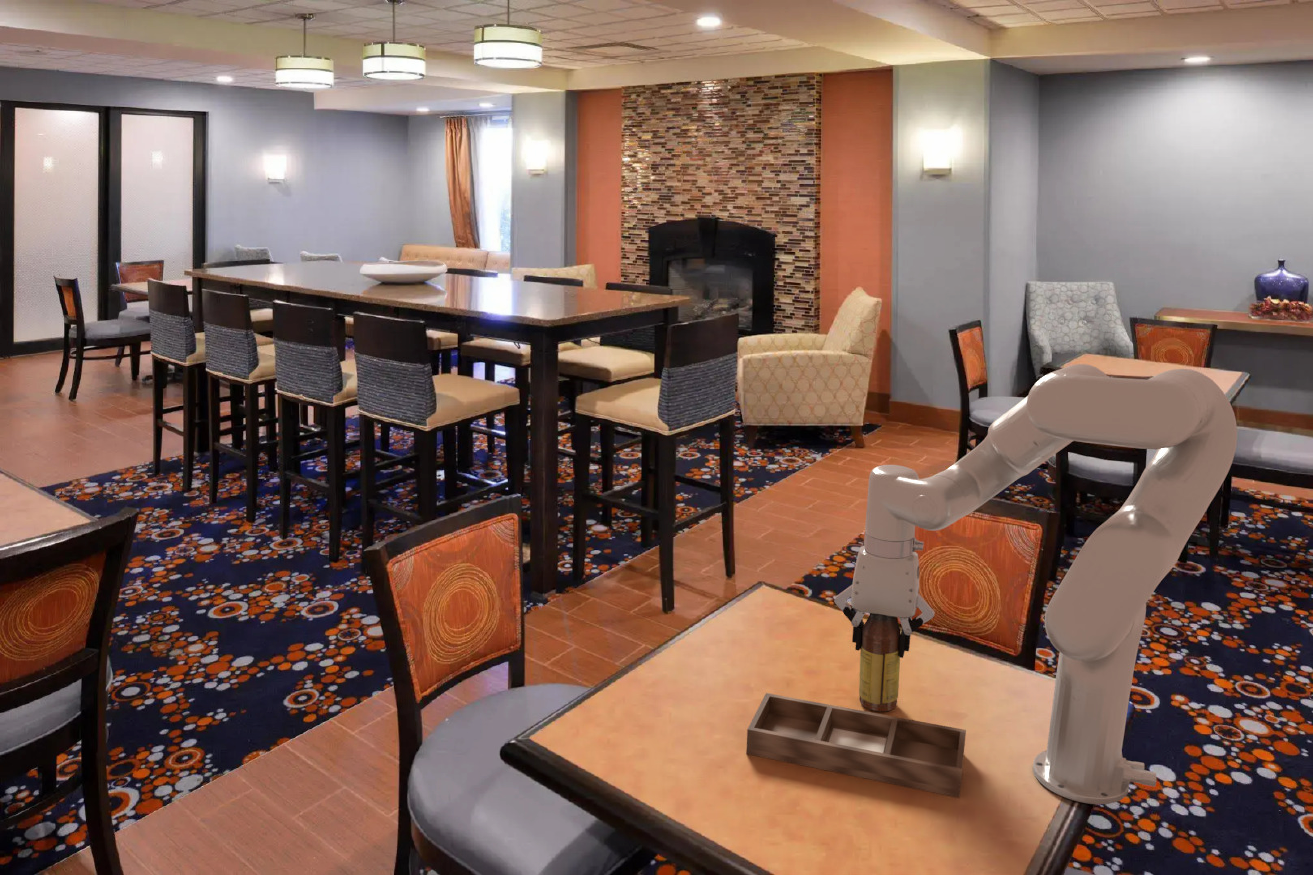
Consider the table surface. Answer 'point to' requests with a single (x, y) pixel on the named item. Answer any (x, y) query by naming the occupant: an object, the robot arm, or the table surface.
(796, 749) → the walnut rack
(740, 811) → the table surface
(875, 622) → the sauce bottle
